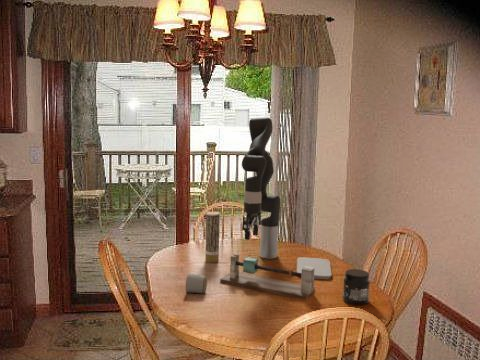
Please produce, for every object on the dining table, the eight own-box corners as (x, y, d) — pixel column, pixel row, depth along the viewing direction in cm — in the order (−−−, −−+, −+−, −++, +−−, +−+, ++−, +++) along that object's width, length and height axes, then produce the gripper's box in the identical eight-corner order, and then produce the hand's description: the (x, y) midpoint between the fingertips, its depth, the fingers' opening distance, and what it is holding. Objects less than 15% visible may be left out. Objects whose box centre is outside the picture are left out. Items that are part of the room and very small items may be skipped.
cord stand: (232, 274, 216) (233, 250, 214) (315, 290, 198) (317, 265, 196) (220, 282, 205) (220, 257, 203) (306, 300, 187) (308, 273, 186)
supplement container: (346, 293, 196) (348, 266, 194) (371, 299, 190) (373, 271, 189) (338, 302, 187) (340, 273, 185) (364, 308, 181) (366, 279, 180)
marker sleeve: (247, 268, 208) (248, 257, 207) (257, 270, 205) (258, 258, 205) (243, 271, 203) (243, 259, 203) (253, 273, 201) (253, 261, 200)
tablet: (328, 263, 237) (329, 259, 236) (331, 281, 211) (332, 276, 211) (297, 261, 239) (297, 256, 239) (296, 278, 213) (296, 273, 213)
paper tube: (202, 261, 233) (203, 213, 229) (209, 258, 239) (210, 211, 235) (214, 263, 230) (215, 215, 226) (221, 260, 236) (222, 212, 232)
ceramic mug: (204, 295, 189) (204, 278, 188) (185, 294, 190) (185, 277, 189) (208, 286, 200) (208, 269, 199) (189, 285, 200) (189, 268, 199)
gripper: (251, 198, 208) (250, 233, 210) (237, 202, 195) (236, 239, 197) (267, 199, 205) (265, 235, 207) (253, 204, 192) (252, 242, 194)
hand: (251, 237), depth 202 cm, fingers open, 8 cm apart
